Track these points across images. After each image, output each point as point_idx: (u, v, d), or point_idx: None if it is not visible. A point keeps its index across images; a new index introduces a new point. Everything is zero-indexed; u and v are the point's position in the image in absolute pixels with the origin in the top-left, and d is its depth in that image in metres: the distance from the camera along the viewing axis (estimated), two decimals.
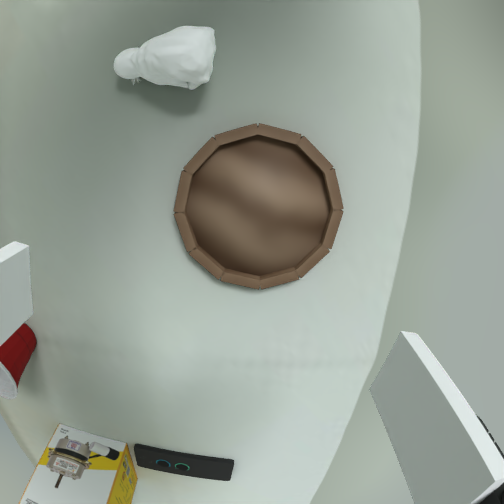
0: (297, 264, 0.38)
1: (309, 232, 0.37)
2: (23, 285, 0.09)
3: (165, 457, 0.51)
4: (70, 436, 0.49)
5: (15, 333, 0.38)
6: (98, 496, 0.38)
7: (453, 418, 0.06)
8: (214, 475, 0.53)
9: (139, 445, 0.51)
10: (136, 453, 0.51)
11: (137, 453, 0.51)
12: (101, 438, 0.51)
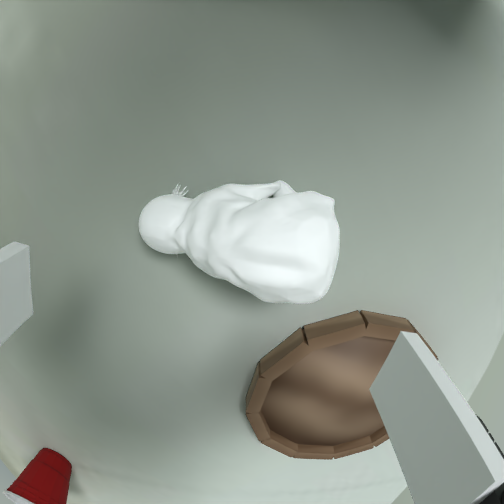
0: (373, 434, 0.29)
1: None
2: (23, 285, 0.09)
3: None
4: None
5: (50, 469, 0.30)
6: None
7: (453, 418, 0.06)
8: None
9: None
10: None
11: None
12: None
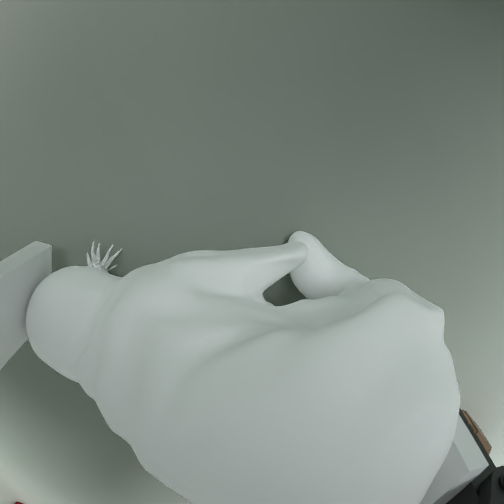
0: None
1: None
2: None
3: None
4: None
5: None
6: None
7: None
8: None
9: None
10: None
11: None
12: None
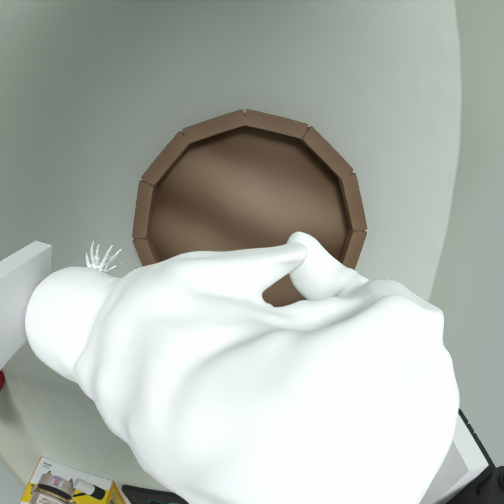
0: None
1: None
2: None
3: (155, 498, 0.42)
4: (53, 471, 0.39)
5: None
6: None
7: None
8: None
9: (126, 486, 0.42)
10: (126, 494, 0.42)
11: (127, 494, 0.42)
12: (86, 474, 0.41)
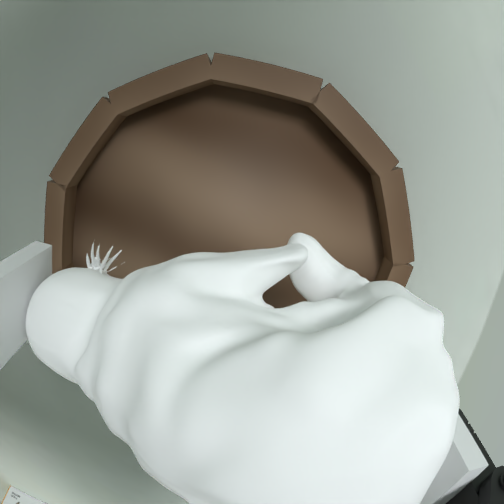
0: None
1: None
2: None
3: None
4: (22, 503, 0.28)
5: None
6: None
7: None
8: None
9: None
10: None
11: None
12: None
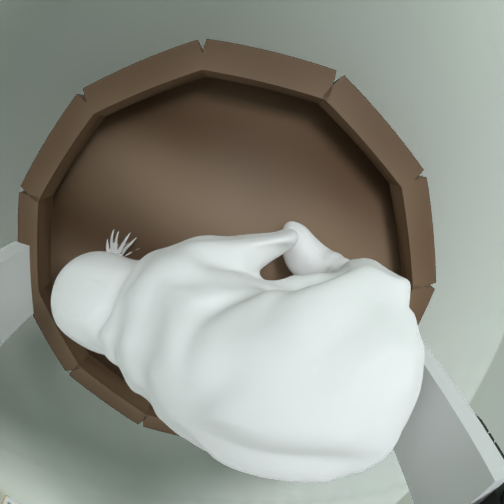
0: None
1: None
2: (23, 285, 0.09)
3: None
4: None
5: None
6: None
7: (453, 418, 0.06)
8: None
9: None
10: None
11: None
12: None
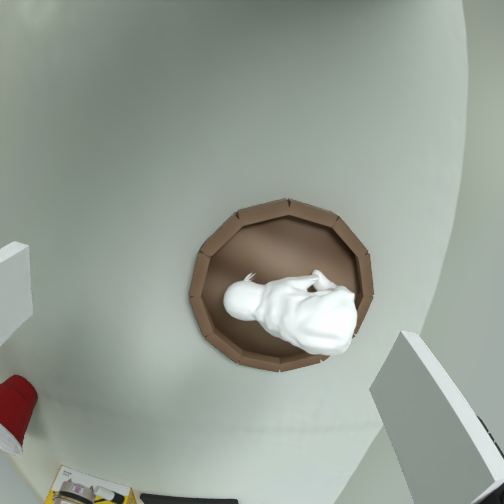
0: None
1: None
2: (23, 285, 0.09)
3: (171, 503, 0.46)
4: (73, 479, 0.43)
5: (15, 391, 0.34)
6: None
7: (453, 418, 0.06)
8: None
9: (144, 494, 0.47)
10: (144, 501, 0.47)
11: (145, 501, 0.47)
12: (105, 482, 0.46)
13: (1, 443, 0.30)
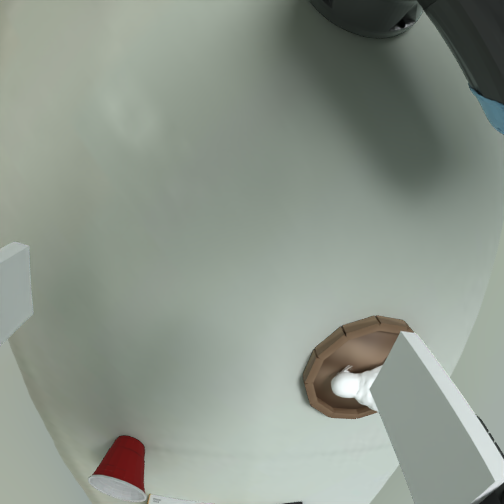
0: None
1: None
2: (23, 285, 0.09)
3: None
4: None
5: (131, 452, 0.45)
6: None
7: (453, 418, 0.06)
8: None
9: None
10: None
11: None
12: (192, 502, 0.57)
13: (117, 493, 0.41)
